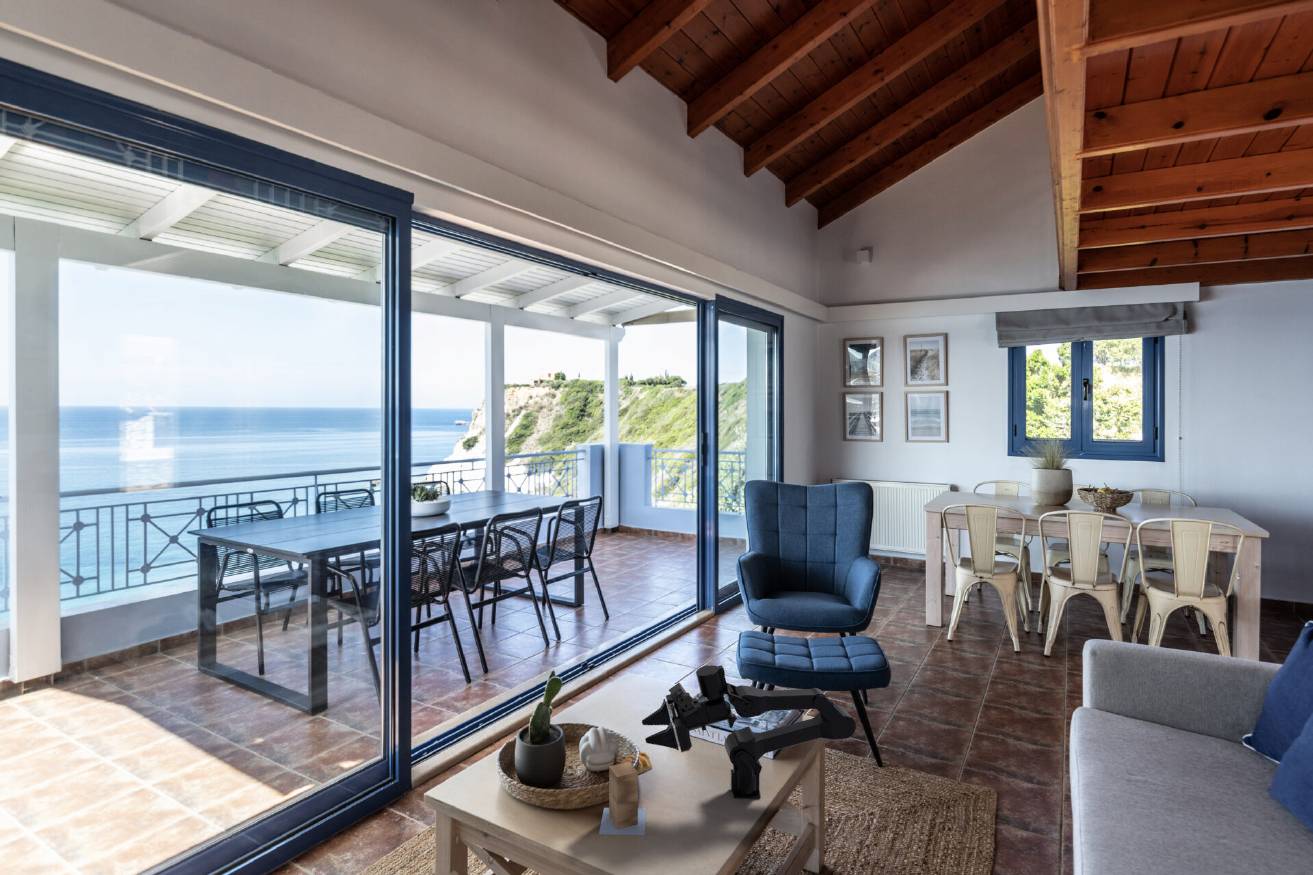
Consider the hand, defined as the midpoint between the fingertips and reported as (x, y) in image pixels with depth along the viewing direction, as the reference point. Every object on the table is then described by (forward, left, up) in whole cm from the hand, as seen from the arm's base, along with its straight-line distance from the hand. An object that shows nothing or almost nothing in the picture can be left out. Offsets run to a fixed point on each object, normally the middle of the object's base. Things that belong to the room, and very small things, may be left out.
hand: (643, 731), depth 167 cm
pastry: (+3, -13, -17) cm, 21 cm away
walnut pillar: (+4, +10, -16) cm, 19 cm away
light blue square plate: (+4, +10, -16) cm, 20 cm away
